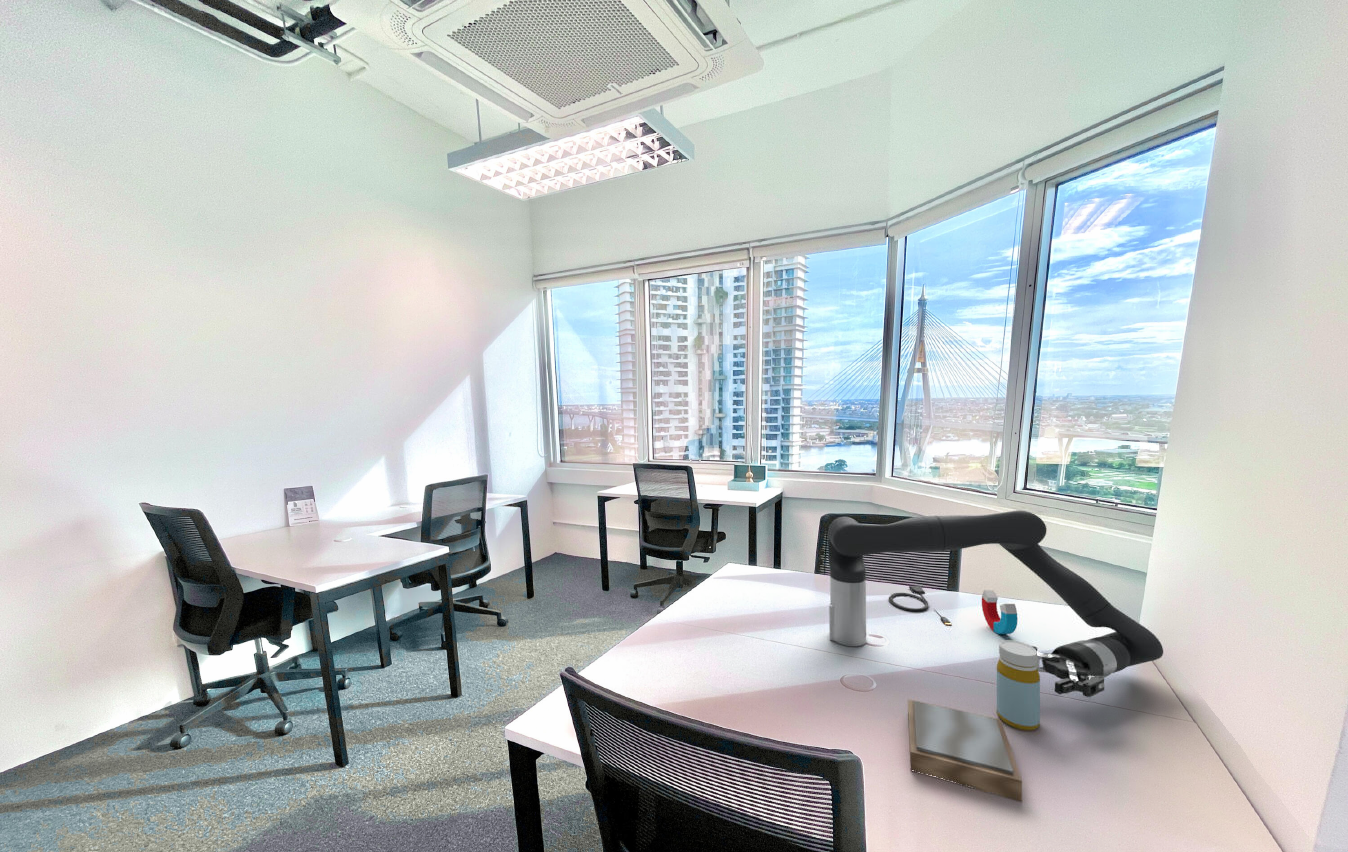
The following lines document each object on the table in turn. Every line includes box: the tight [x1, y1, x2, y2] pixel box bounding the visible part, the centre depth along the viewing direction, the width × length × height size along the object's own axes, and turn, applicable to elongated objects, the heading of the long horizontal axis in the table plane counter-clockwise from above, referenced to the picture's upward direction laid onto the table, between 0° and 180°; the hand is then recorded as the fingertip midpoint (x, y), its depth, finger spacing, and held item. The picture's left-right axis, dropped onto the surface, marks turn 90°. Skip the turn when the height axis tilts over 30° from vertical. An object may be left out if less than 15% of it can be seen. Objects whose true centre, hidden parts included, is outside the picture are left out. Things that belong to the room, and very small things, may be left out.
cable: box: [888, 585, 952, 627], centre depth 150 cm, size 14×28×2 cm, turn 168°
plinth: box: [907, 699, 1023, 803], centre depth 86 cm, size 16×16×4 cm
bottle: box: [996, 639, 1041, 732], centre depth 94 cm, size 7×7×15 cm
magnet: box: [981, 589, 1019, 635], centre depth 130 cm, size 12×3×10 cm, turn 176°
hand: (1033, 676), depth 96 cm, fingers open, 8 cm apart
